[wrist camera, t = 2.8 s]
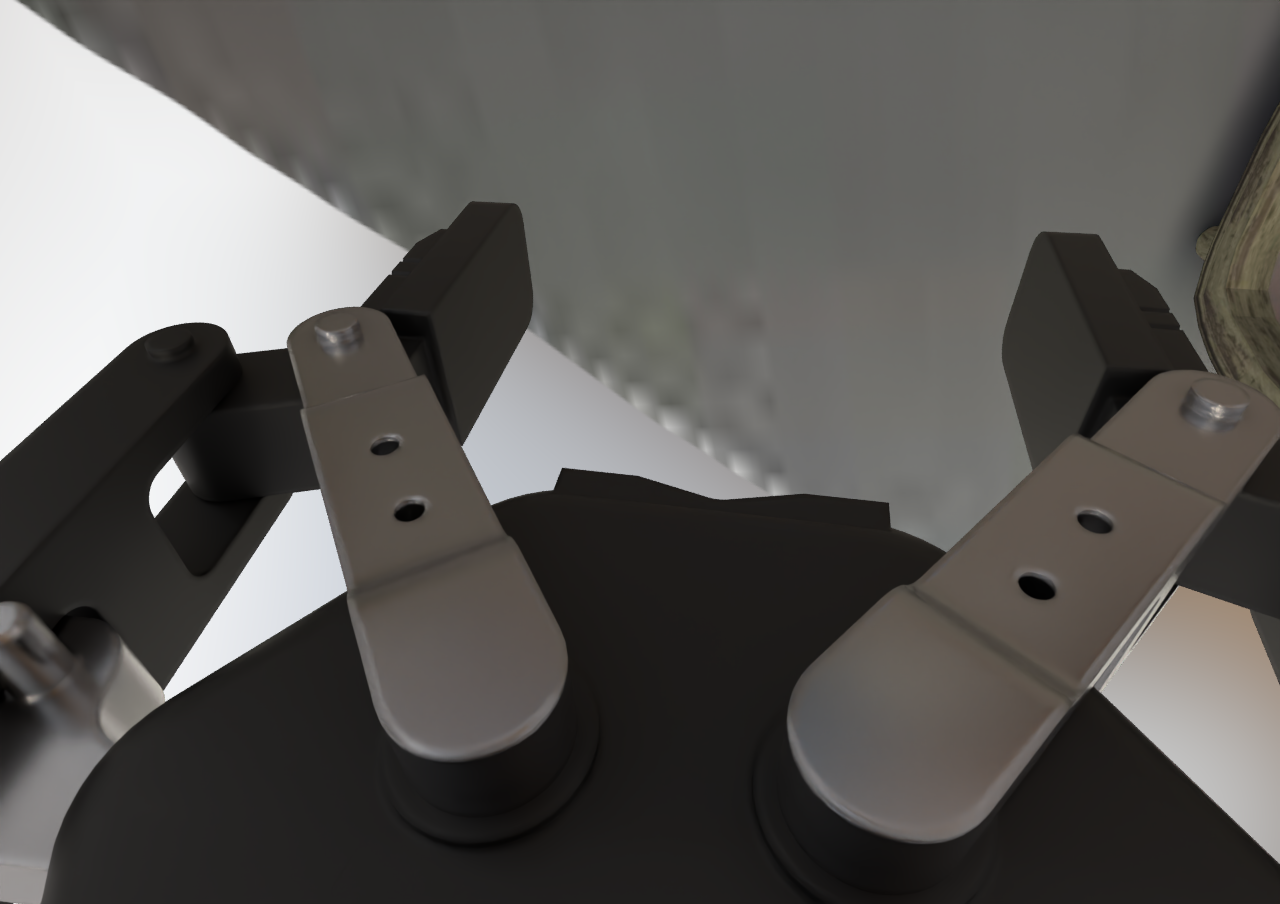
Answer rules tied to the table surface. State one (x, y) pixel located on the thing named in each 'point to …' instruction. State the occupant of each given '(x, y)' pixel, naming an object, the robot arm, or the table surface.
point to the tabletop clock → (1246, 275)
